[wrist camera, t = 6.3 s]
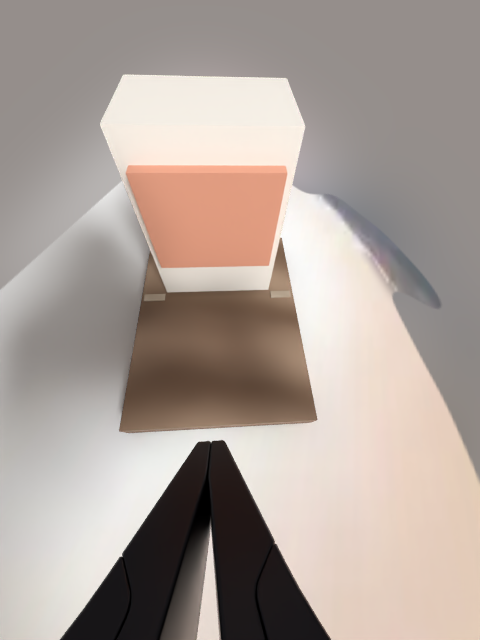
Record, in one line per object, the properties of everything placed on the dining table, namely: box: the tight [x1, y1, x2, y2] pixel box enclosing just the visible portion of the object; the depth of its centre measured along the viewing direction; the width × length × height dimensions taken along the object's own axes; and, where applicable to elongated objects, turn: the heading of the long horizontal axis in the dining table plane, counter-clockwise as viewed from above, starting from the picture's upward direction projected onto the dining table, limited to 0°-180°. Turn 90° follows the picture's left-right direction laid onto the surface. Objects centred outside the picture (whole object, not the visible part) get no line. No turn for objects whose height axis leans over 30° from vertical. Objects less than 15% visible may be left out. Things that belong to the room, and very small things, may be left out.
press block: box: [100, 75, 305, 292], centre depth 15 cm, size 6×8×11 cm
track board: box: [119, 238, 317, 433], centre depth 19 cm, size 16×12×2 cm
